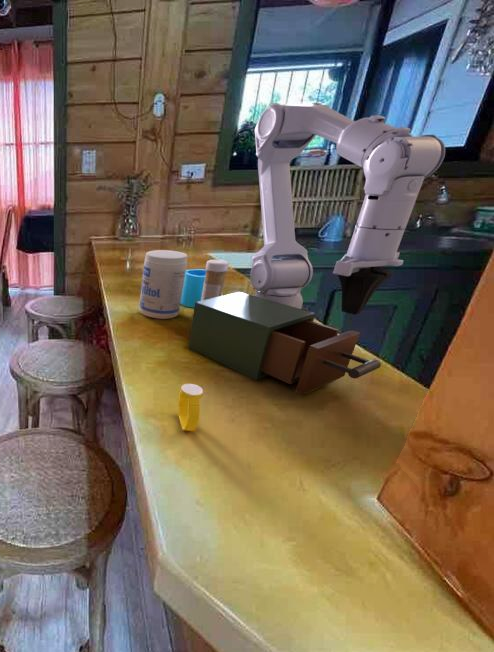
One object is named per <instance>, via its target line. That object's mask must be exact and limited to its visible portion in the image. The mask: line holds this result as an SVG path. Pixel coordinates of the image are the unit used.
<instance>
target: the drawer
mask: <svg viewBox="0 0 494 652" xmlns="http://www.w3.org/2000/svg"><path fill="white" fill-rule="evenodd" d="M339 331H340V329H339V328H337V327H336V328H335V327H332V326H329V325H326V324H322V323H318V322H315V321H313V322H312V321H309V320H305V321H302V322H298V323H295V324H292V325H289V326H286V327H283V328H279V329H276V330H273V331H271V334H270V338H269V342H268V346H267V350H266V354H265V358H264V362H263V366H262V369H261V371H262V372H264V373H266V374H268V376H271V377H273V378H275V379H278V380H280V381H281V382H284V383H286V384H289V385H292V384H295V383H296V382H297V385H296V388H295V392H297V393H298V394H301V395H306V394H308V393H310V392H314V391H315V390H317V389H320V388H321V387H324V386H325V385H328V384H330V383H332V382H334V381H337V380H339V379H341V378H343V377H345V375H346V374H347V375H348V377H349V378H351V379H354V380H355V379H358V378H360V377H363V376H365V375H367V374H369V373H371V372H373V371H376V370H378V369H380V368H381V366H382V363H381V362H380V360H378V359H370V360H369V359H366V358H363V357H360V356H357V355H354V354H353V353H354V351H355V348H356V346H357V342H358V340H359V338H360V335H361V332H359V331H357V330H356V331H355V330H349V331H346V332H343V333H341V334H339ZM351 361H355V362H357V363H359V365H357V366H356V367H352V368H351V367H349V365H350V362H351Z"/></svg>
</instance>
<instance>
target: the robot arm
mask: <svg viewBox="0 0 494 652" xmlns="http://www.w3.org/2000/svg"><path fill="white" fill-rule="evenodd" d="M386 119H387V118H386V117H385V116H383V115H378V114H375V115H370V116H369V117H367V116H366V117H363V118H359V119H357V120H353V119H351V118H349V117H347V116H346V115H344V114H342V113H340V112H338V111H337V110H335V109H332V108H331V107H330V105H329V104H322V103H320V102H313V103H278V102H273V103H271V104H269V105H268V106H266V108H265V109H264V110H263V111H262V113H261V115H260V117H259V118H258V121H257V123H256V125H255V128H254V141H255V152H256V157H257V169H258V170H257V172H258V180H259V181H258V183H259V184H258V185H259V196H260V209H261V222H262V235H263V247H262V248H260V249H259V250H258V251H257V252H256V253H255V254H254V255H253V256H252V257H251V262H252V263H251V270H250V274H249V280H250V283H251V286H252V287H253V290H254V291H255V295H254V296H256V297H260V298H263V299H267V300H270V301H274V302H277V303H281V304H285V305H288V306H292V307H295V308H299V309H302V307H303V303H304V299H303V296H302V294H301V291H302V289H303V288H306V287H307V286H308V285H309V284H310V283H311V281H312V280H313V279H312V278H313V276H314V268H313V265H312V263H311V261H310V259H309V255H308V249H306V248H305V247H304V246H302V245H301V244H300V243H299V242H297V241H296V232H295V217H294V207H293V206H294V205H293V192H292V191H293V190H292V179H291V178H292V177H291V167H290V165H291V162H292V160H294V159H295V158H298V157H300V155H301V153H303V151H304V150H305V149H306V148H307V147H308V146H309V145H310V143H311V142H312V141H313V140H314V139H315V138H316V137H320V138H322V139H324V140H327V141H330V142H332V143H334V144H336V154H338V156H340V157H341V158H343V159H345V160H347V161H349V162H351V163H353V164H355V165H356V166H358V167H360V168H362V169H363V174H364V177H365V184H364V187H363V191H364V195H365V196H364V199H363V202H362V205H361V208H360V211H359V214H358V218H357V221H356V224H355V227H354V229H353V233H352V236H351V239H350V243H349V246H348V249H347V252H346V253H345V254H344V255H343V257H342V258H341V259H339V260H337V261H336V262H335V266H334V268H333V271H332V274H334V275H337V277H338V279H339V283H340V288H341V312H343V313H346V314H350V315H359V314H361V312H362V311H363V310H364V308H365V307H366V306H367V304H368V303H369V301H370V299H371V298H372V296H373V295H374V294H375V292H376V291H377V290H378V289H379V288H380V287H381V285H383V284H384V283H385V282H386V281H387V280H388V279H389V278H391V276H392V275H393V271H392V270H390V269H384V268H382V267H388V266H390V267H400V266H402V265H403V264H404V260H403V259H399V257H400V254H401V252H399V251H398V249H399V247H400V244H401V241H402V238H403V236H404V234H405V230H406V228H407V225H408V223H409V220H410V217H411V214H412V212H413V209H414V207H415V204H416V201H417V199H418V196H419V194H420V190H421V188H422V186H423V182H424V180H425V179H427V178H428V177H431V176H432V175H433V174H435V172H436V171H437V170H438V169H439V168H440V166H441V165H442V163H443V161H444V159H445V156H446V146H445V143H444V141H443V140H442V139H440V138H438V136H437V135H436V134H423V135H420V136H413V135H412V133H411V131H412V130H411V128H409V127H407V126H399V127H395V126H393V125H390V124H388V123H385V121H386Z"/></svg>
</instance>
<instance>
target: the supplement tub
mask: <svg viewBox="0 0 494 652" xmlns="http://www.w3.org/2000/svg"><path fill="white" fill-rule="evenodd" d="M187 265H188V254H187V253H185V252H182V251H178V250H171V249H170V250H169V249H154V250H148V251H147V252H146V253H145V258H144V262H143V268H142V279H141V287H140V295H139V296H140V297H139V305H138V310H139V312H140V314H142V315H144V316H146V317H148V318H151V319H152V318H153V319H160V320H168V319H173V318H175V317H177V316H178V315H179V313H180V308H181V297H182V291H183V285H184V279H185V273H186V270H187Z"/></svg>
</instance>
